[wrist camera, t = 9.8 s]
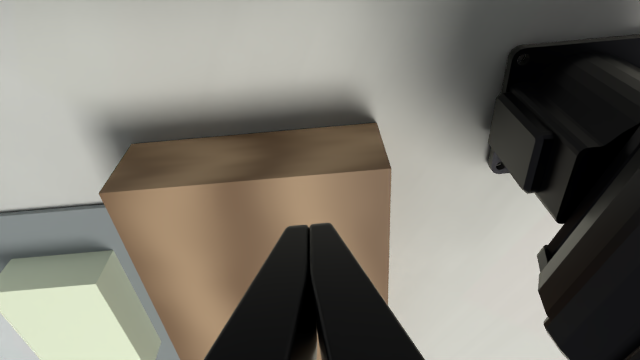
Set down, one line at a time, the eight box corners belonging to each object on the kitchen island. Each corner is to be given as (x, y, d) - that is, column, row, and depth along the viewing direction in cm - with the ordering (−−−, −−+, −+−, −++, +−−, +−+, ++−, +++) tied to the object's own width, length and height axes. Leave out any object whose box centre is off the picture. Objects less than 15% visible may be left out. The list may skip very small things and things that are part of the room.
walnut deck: (376, 122, 20) (391, 168, 17) (376, 370, 33) (384, 423, 29) (131, 144, 20) (98, 193, 17) (226, 382, 33) (217, 436, 30)
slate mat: (135, 201, 22) (133, 205, 22) (203, 358, 31) (202, 361, 31) (-65, 218, 22) (-69, 222, 22) (58, 369, 31) (56, 373, 31)
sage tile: (-17, 293, 22) (11, 258, 24) (60, 382, 27) (77, 348, 29) (95, 283, 22) (113, 250, 24) (150, 375, 27) (161, 341, 29)
